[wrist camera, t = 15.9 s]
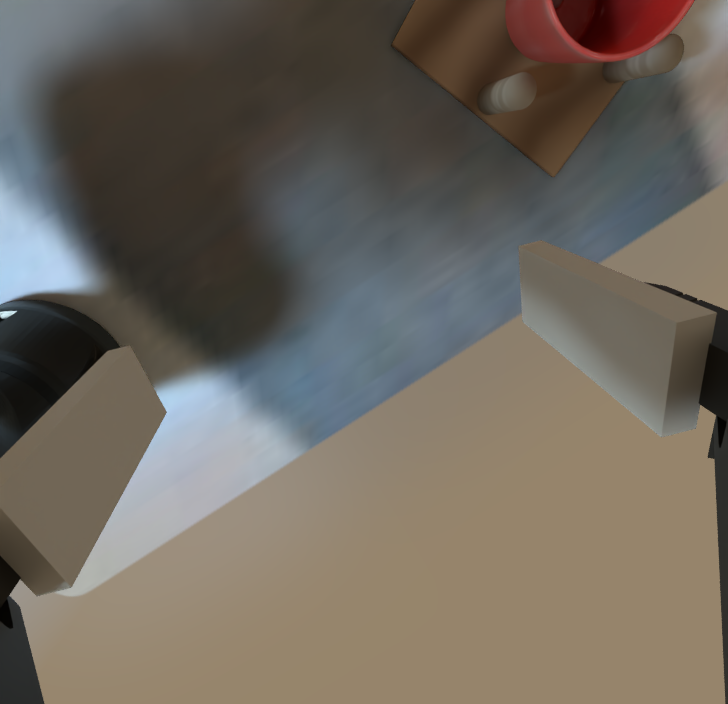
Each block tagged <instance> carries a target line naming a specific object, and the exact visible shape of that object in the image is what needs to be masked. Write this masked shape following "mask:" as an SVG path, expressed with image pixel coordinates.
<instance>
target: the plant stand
mask: <svg viewBox="0 0 728 704" xmlns="http://www.w3.org/2000/svg"><path fill="white" fill-rule="evenodd" d="M505 7H506V0H415V2H414V4H413V5H412V7H411V9H410V11H409V13H408V15H407V17H406V18H405V20H404V22H403V24H402V26H401V28H400V30H399V31H398V33H397V35H396V37H395V39H394V41H393V43H392V44H391V46H392V47H393V48H395V49H396V50H397V51H398V52H400V53H401V54H402V55H403V56H404V57H406V58H407V59H408V60H409V61H411V62H412V63H413V64H414V65H415V66H417V67H418V68H419V69H420V70H422V71H423V72H424V73H425V74H426V75H428V76H429V77H430V78H431V79H433V80H434V81H435V82H436V83H437V84H439V85H440V86H441V87H442V88H444V89H445V90H446V91H447V92H448V93H450V94H451V95H452V96H453V97H455V98H456V99H457V100H458V101H459V102H461V103H462V104H463V105H464V106H466V107H467V108H468V109H469V110H470V111H472V112H473V113H474V114H475V115H477V116H478V117H479V118H480V119H481V120H483V121H484V122H485V123H486V124H488V125H489V126H490V127H491V128H492V129H494V130H495V131H496V132H497V133H499V134H500V135H501V136H502V137H503V138H505V139H506V140H507V141H508V142H509V143H511V144H512V145H513V146H514V147H516V148H517V149H518V150H519V151H520V152H522V153H523V154H524V155H525V156H527V157H528V158H529V159H530V160H531V161H533V162H534V163H535V164H536V165H538V166H539V167H540V168H541V169H542V170H544V171H545V172H546V173H547V174H549V175H550V176H551V177H555V175H556V174H557V173H558V171H559V170H560V169H561V167H562V166H563V165H564V163H565V162H566V160H567V159H568V158H569V156H570V155H571V154H572V152H573V151H574V150H575V148H576V147H577V146H578V144H579V143H580V141H581V140H582V139H583V137H584V136H585V135H586V133H587V132H588V131H589V129H590V128H591V126H592V125H593V124H594V122H595V121H596V120H597V118H598V117H599V116H600V114H601V113H602V111H603V110H604V109H605V107H606V106H607V105H608V103H609V102H610V101H611V99H612V98H613V97H614V95H615V94H616V92H617V91H618V90H619V88H620V87H621V86H622V84H623V83H624V82H625V81H628V80H633V79H638V78H643V77H647V76H652V75H657V74H662V73H667V72H669V71H671V70H673V69H674V68H675V67H676V66H677V65H678V63H679V62H680V60H681V58H682V55H683V51H684V44H683V40H682V39H681V37H680V36H678V35H676V34H670V35H667V36H666V37H665V38H664V39H663V40H661V41H660V42H659V43H658V44H656V45H655V46H653V47H652V48H650V49H649V50H647V51H645V52H643V53H641V54H639V55H637V56H634V57H632V58H629V59H625V60H621V61H614V62H603V63H548V62H538V61H534V60H531V59H529V58H527V57H525V56H524V55H523V54H522V53H521V52H520V51H519V50H518V49H517V48H516V47H515V45H514V44H513V42H512V40H511V38H510V36H509V33H508V30H507V26H506V18H505Z"/></svg>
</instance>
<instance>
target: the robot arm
mask: <svg viewBox="0 0 728 704" xmlns="http://www.w3.org/2000/svg"><path fill="white" fill-rule="evenodd" d="M519 264H520V283H521V302H522V321H523V322H524V323H525V324H526V325H527V326H529V327H530V328H531V329H532V330H533V331H534V332H536V333H537V334H538V335H539V336H540V337H542V338H543V339H544V340H545V341H546V342H548V343H549V344H550V345H551V346H552V347H554V348H555V349H556V350H557V351H559V352H560V353H561V354H562V355H563V356H564V357H566V358H567V359H568V360H569V361H571V362H572V363H573V364H574V365H575V366H576V367H578V368H579V369H580V370H581V371H582V372H584V373H585V374H586V375H587V376H588V377H590V378H591V379H592V380H593V381H594V382H596V383H597V384H598V385H599V386H600V387H602V388H603V389H604V390H605V391H606V392H608V393H609V394H610V395H611V396H612V397H614V398H615V399H616V400H617V401H618V402H620V403H621V404H622V405H623V406H624V407H626V408H627V409H628V410H629V411H630V412H632V413H633V414H634V415H635V416H636V417H638V418H639V419H640V420H641V421H642V422H644V423H645V424H646V425H647V426H648V427H650V428H651V429H652V430H653V431H654V432H656V433H657V434H658V435H659V436H661V437H665V436H669V435H672V434H676V433H680V432H684V431H688V430H692V429H696V425H697V419H698V414H699V408H700V405H702V406H703V407H705V408H706V409H708V410H709V411H711V412H712V413H714V414H715V415H716V419H715V424H714V429H713V434H712V438H711V443H710V448H709V453H708V458H713V459H714V458H715V480H716V500H717V501H716V502H717V524H718V547H719V569H720V591H721V612H722V635H723V658H724V679H725V702H726V704H728V311H727V310H725V309H722V308H720V307H717V306H715V305H712V304H710V303H707V302H705V301H702V300H699V301H698V300H697V298H694V297H692V296H690V295H687V294H685V295H683V293H682V292H679V291H677V290H674V289H672V288H669V287H667V286H663V285H657V284H651V283H645V282H641V281H639V280H636V279H634V278H631V277H629V276H627V275H624V274H622V273H619V272H617V271H615V270H612V269H609V268H607V267H605V266H602V265H600V264H598V263H595V262H593V261H590V260H588V259H585V258H583V257H581V256H578V255H576V254H573V253H571V252H568V251H566V250H563V249H561V248H559V247H556V246H554V245H551V244H549V243H546V242H544V241H542V240H541V241H537V242H533V243H529V244H525V245H521V246H519ZM166 413H167V412H166V410H165V408H164V406H163V405H162V403H161V401H160V399H159V397H158V395H157V394H156V392H155V390H154V388H153V386H152V384H151V383H150V381H149V379H148V377H147V375H146V373H145V372H144V370H143V368H142V366H141V364H140V362H139V361H138V359H137V357H136V355H135V353H134V351H133V350H132V348H131V346H130V345H129V346H125V347H121V348H120V347H119V345H118V344H117V343H116V341H115V340H114V339H113V338H112V337H111V335H110V334H109V333H108V332H107V331H106V330H104V329H103V328H102V327H101V326H100V325H98V324H97V323H96V322H94V321H93V320H92V319H90V318H88V317H87V316H85V315H83V314H81V313H80V312H77V311H75V310H73V309H71V308H68V307H65V306H62V305H59V304H55V303H51V302H46V301H38V300H21V301H13V302H8V303H5V304H2V305H0V704H44V701H43V697H42V693H41V689H40V685H39V681H38V677H37V673H36V669H35V665H34V661H33V657H32V653H31V649H30V645H29V641H28V637H27V633H26V629H25V626H24V621H23V617H22V613H21V609H20V607H19V605H18V604H17V603H16V602H15V601H14V600H13V599H12V598H11V597H10V596H9V595H10V593H11V592H12V590H13V589H14V587H15V586H16V584H17V583H18V581H19V580H20V579H21V580H22V581H23V582H24V584H26V586H27V587H28V588H29V589H30V590H31V591H32V592H33V593H34V594H35V595H36V596H40V595H44V594H48V593H52V592H56V591H60V590H64V589H68V588H71V587H72V585H73V584H74V582H75V580H76V578H77V576H78V574H79V573H80V571H81V569H82V567H83V565H84V563H85V562H86V560H87V558H88V556H89V554H90V552H91V551H92V549H93V547H94V545H95V543H96V541H97V540H98V538H99V536H100V534H101V532H102V530H103V529H104V527H105V525H106V523H107V521H108V519H109V518H110V516H111V514H112V512H113V510H114V508H115V506H116V505H117V503H118V501H119V499H120V497H121V495H122V494H123V492H124V490H125V488H126V486H127V484H128V483H129V481H130V479H131V477H132V475H133V473H134V472H135V470H136V468H137V466H138V464H139V462H140V461H141V459H142V457H143V455H144V453H145V451H146V450H147V448H148V446H149V444H150V442H151V440H152V439H153V437H154V435H155V433H156V431H157V429H158V428H159V426H160V424H161V422H162V420H163V418H164V417H165V415H166Z"/></svg>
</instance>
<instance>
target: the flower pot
mask: <svg viewBox="0 0 728 704" xmlns="http://www.w3.org/2000/svg"><path fill="white" fill-rule="evenodd" d="M694 1H695V0H506V7H505V18H506V26H507V30H508V33H509V36H510V38H511V40H512V42H513V44H514V45H515V47H516V48H517V49H518V50H519V51H520V52H521V53H522V54H523V55H524V56H525V57H527V58H529V59H531V60H534V61H538V62H548V63H603V62H614V61H621V60H625V59H629V58H632V57H634V56H637V55H639V54H641V53H643V52H645V51H647V50H649V49H650V48H652V47H653V46H655V45H656V44H658V43H659V42H660V41H661V40H663V39H664V38H665V37H666V36H667V35H668V34H669V33H670V32H671V31H672V30H673V29H674V28H675V27H676V26H677V25H678V24H679V22H680V21H681V20H682V19H683V17H684V16H685V15H686V13H687V12H688V10H689V9H690V7H691V6H692V4H693V2H694Z"/></svg>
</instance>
